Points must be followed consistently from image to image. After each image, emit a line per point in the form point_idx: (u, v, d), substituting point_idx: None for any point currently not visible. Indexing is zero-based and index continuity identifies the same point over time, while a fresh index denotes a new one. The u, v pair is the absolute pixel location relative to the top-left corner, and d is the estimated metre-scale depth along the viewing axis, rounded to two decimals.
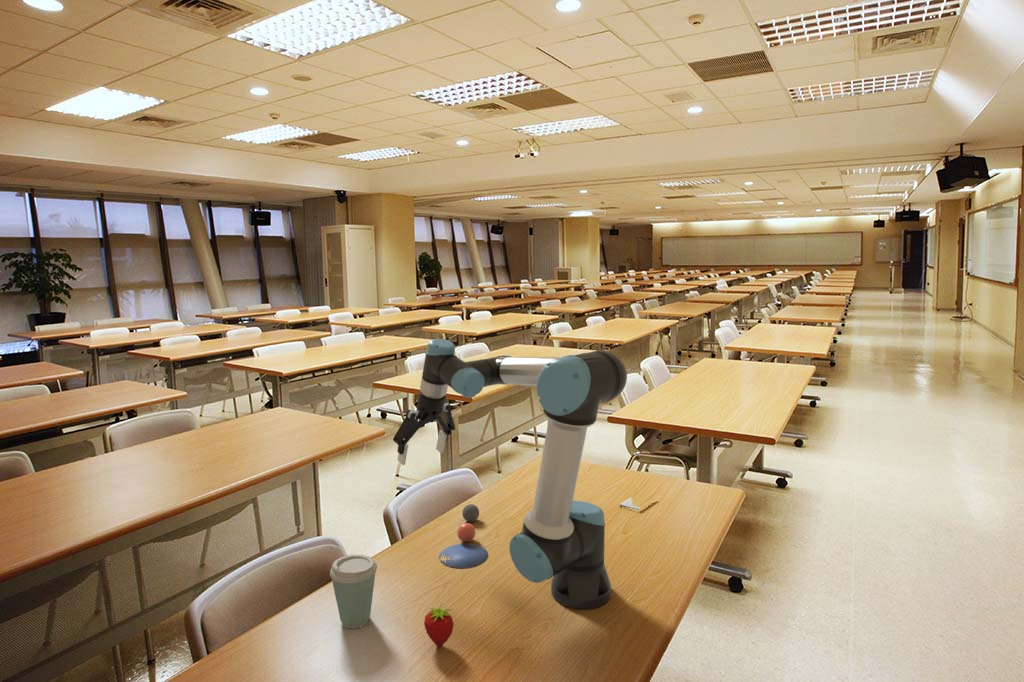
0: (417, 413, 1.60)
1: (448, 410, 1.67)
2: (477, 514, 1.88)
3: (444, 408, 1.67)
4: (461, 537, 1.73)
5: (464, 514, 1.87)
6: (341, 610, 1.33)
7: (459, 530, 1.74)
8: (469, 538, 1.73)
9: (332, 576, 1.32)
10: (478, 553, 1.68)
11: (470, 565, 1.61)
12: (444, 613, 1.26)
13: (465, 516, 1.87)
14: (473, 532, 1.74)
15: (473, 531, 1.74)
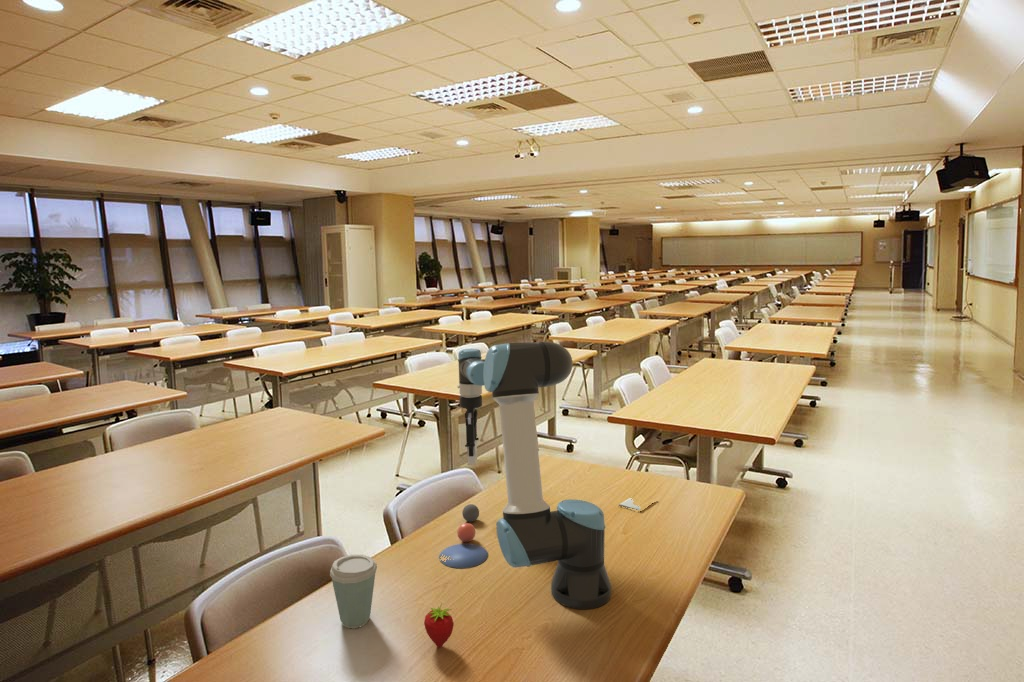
0: (471, 416, 1.90)
1: None
2: (477, 514, 1.88)
3: None
4: (461, 537, 1.73)
5: (464, 514, 1.87)
6: (341, 610, 1.33)
7: (459, 530, 1.74)
8: (469, 538, 1.73)
9: (332, 576, 1.32)
10: (478, 553, 1.68)
11: (470, 565, 1.61)
12: (444, 613, 1.26)
13: (465, 516, 1.87)
14: (473, 532, 1.74)
15: (473, 531, 1.74)
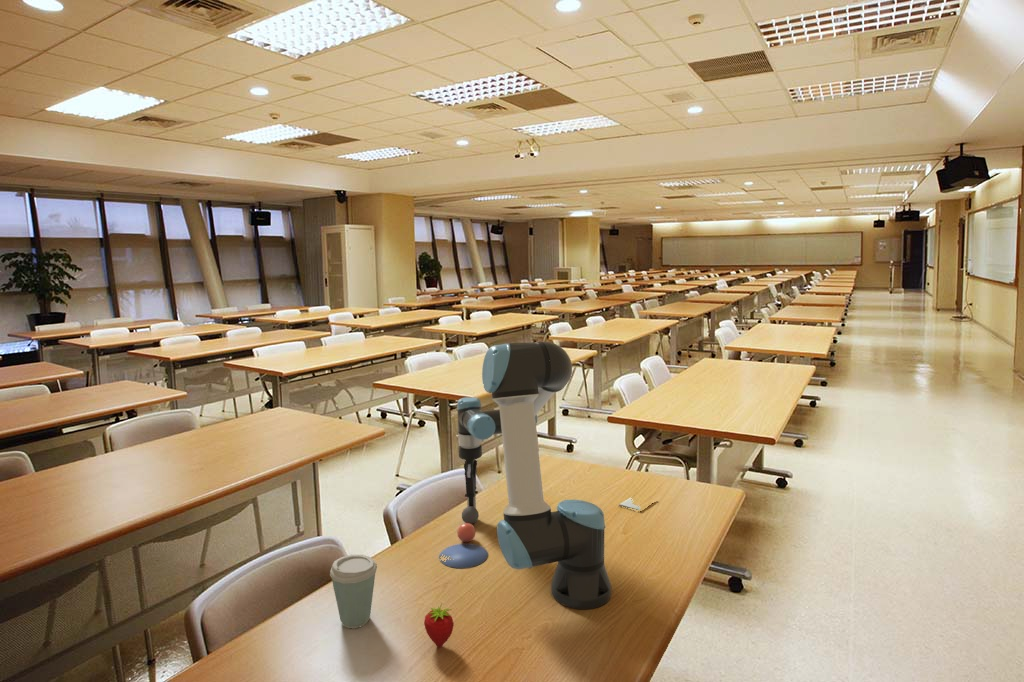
0: (470, 469, 1.84)
1: None
2: (476, 518, 1.86)
3: None
4: (461, 537, 1.73)
5: (463, 519, 1.86)
6: (341, 610, 1.33)
7: (459, 530, 1.74)
8: (469, 538, 1.73)
9: (332, 576, 1.32)
10: (478, 553, 1.68)
11: (470, 565, 1.61)
12: (444, 613, 1.26)
13: (464, 520, 1.86)
14: (473, 532, 1.74)
15: (473, 531, 1.74)
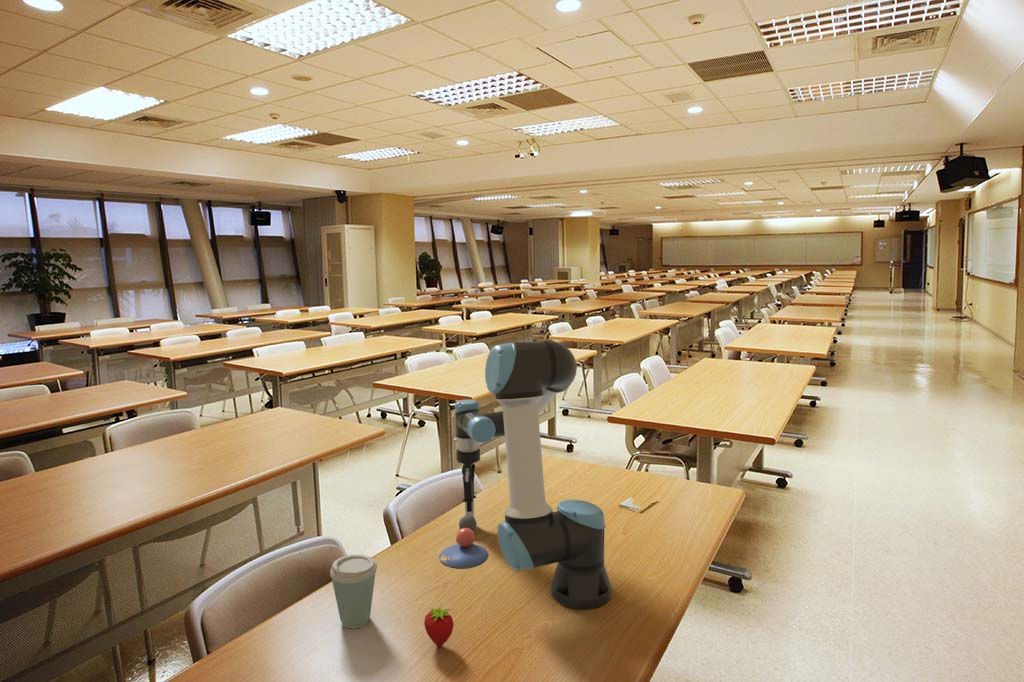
0: (468, 473, 1.80)
1: None
2: None
3: None
4: None
5: None
6: (341, 610, 1.33)
7: (457, 542, 1.71)
8: None
9: (332, 576, 1.32)
10: (478, 553, 1.68)
11: (470, 565, 1.61)
12: (444, 613, 1.26)
13: None
14: (472, 542, 1.71)
15: (472, 542, 1.71)
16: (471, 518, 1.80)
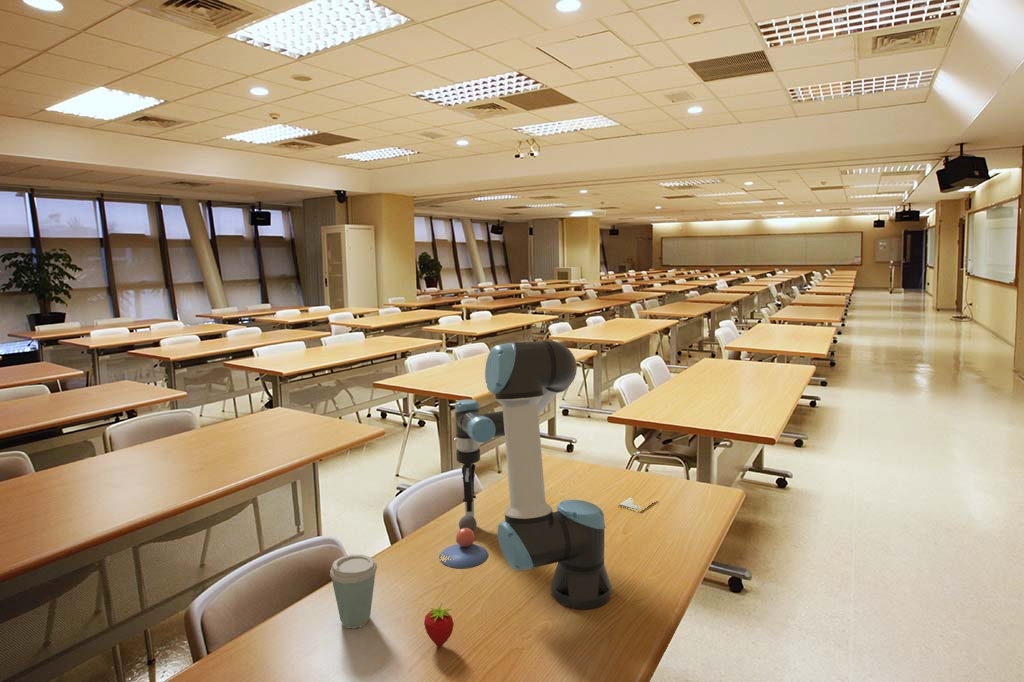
0: (468, 473, 1.80)
1: None
2: None
3: None
4: None
5: None
6: (341, 610, 1.33)
7: (457, 542, 1.71)
8: None
9: (332, 576, 1.32)
10: (478, 553, 1.68)
11: (470, 565, 1.61)
12: (444, 613, 1.26)
13: None
14: (472, 542, 1.71)
15: (472, 542, 1.71)
16: (471, 518, 1.80)
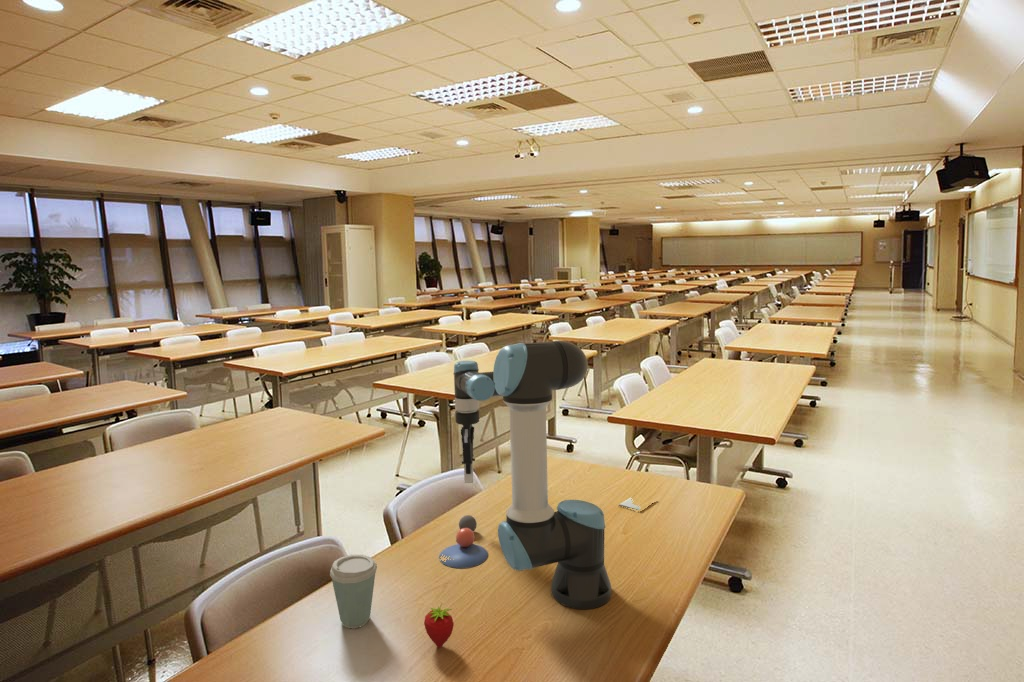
0: (467, 434, 1.78)
1: None
2: None
3: None
4: None
5: None
6: (341, 610, 1.33)
7: (457, 542, 1.71)
8: None
9: (332, 576, 1.32)
10: (478, 553, 1.68)
11: (470, 565, 1.61)
12: (444, 613, 1.26)
13: None
14: (472, 542, 1.71)
15: (472, 542, 1.71)
16: (471, 518, 1.80)
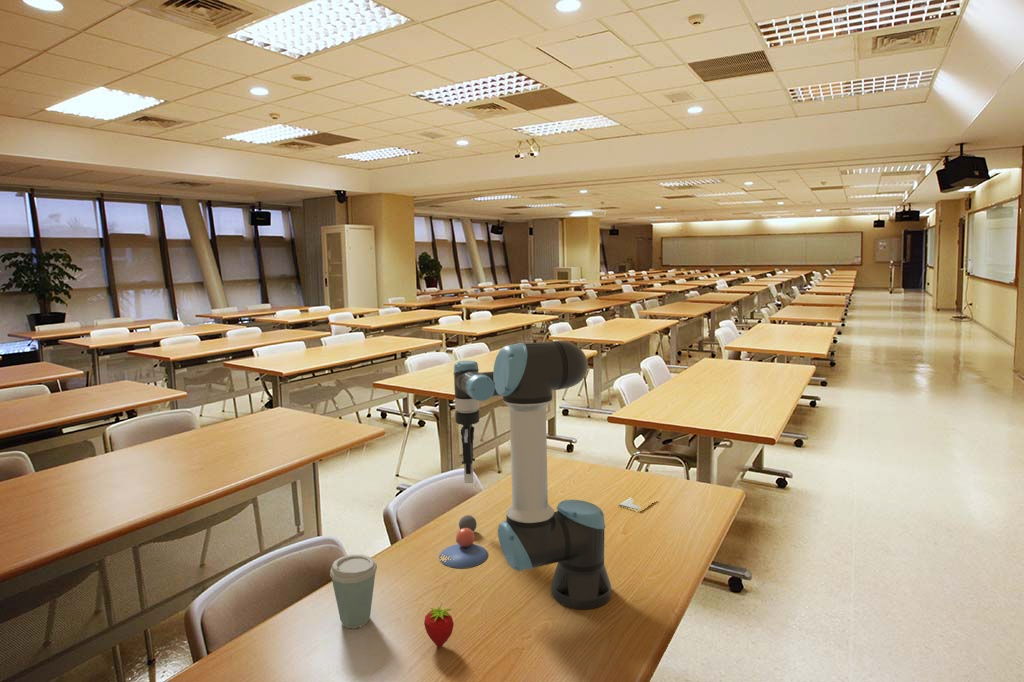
0: (467, 434, 1.78)
1: None
2: None
3: None
4: None
5: None
6: (341, 610, 1.33)
7: (457, 542, 1.71)
8: None
9: (332, 576, 1.32)
10: (478, 553, 1.68)
11: (470, 565, 1.61)
12: (444, 613, 1.26)
13: None
14: (472, 542, 1.71)
15: (472, 542, 1.71)
16: (471, 518, 1.80)
